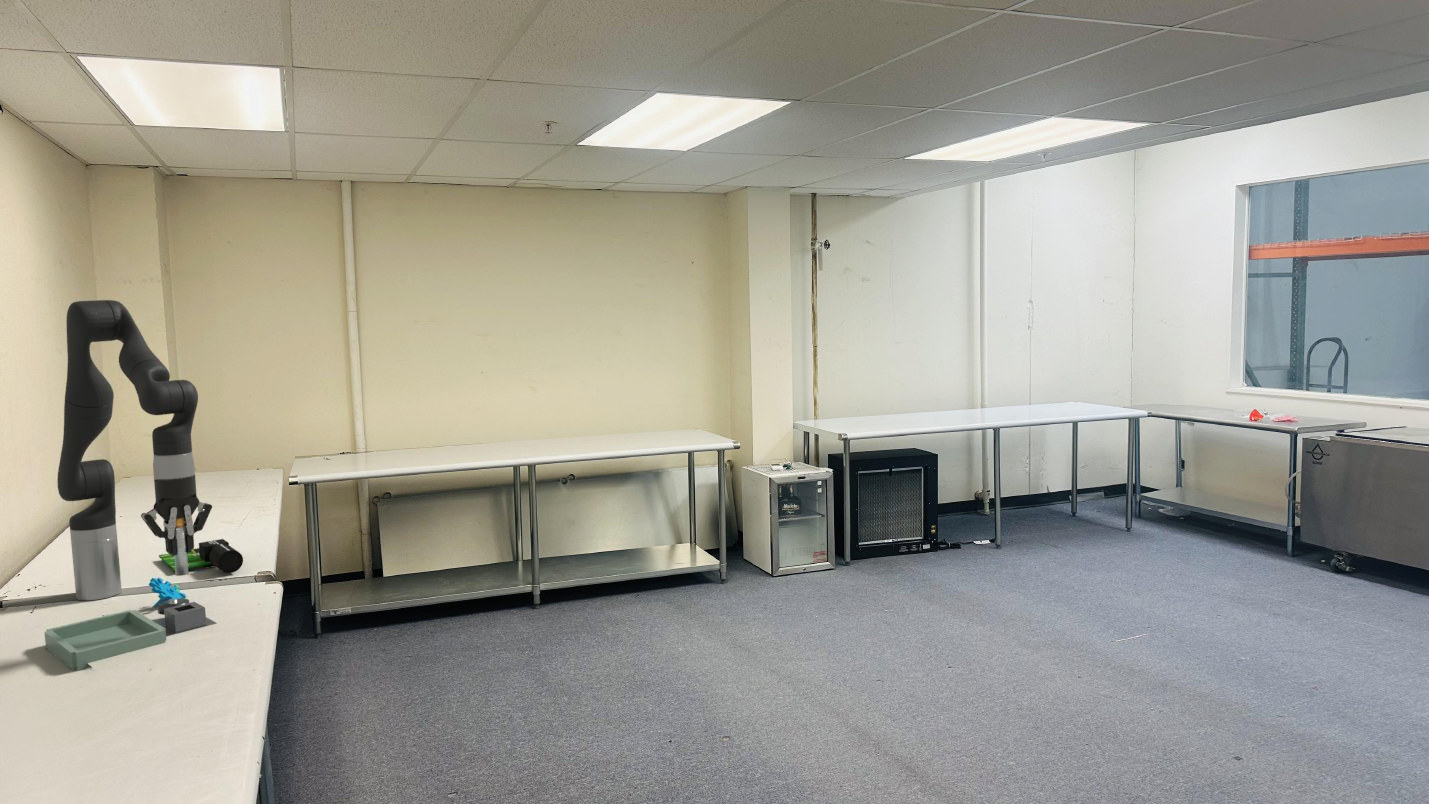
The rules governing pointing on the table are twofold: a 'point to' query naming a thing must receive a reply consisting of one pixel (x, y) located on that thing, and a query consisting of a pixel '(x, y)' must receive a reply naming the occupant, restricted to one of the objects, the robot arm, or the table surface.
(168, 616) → the grey slotted holder
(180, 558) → the capped test tube
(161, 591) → the blue jagged piece
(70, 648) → the tray
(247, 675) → the table surface
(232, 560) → the electronic board model
